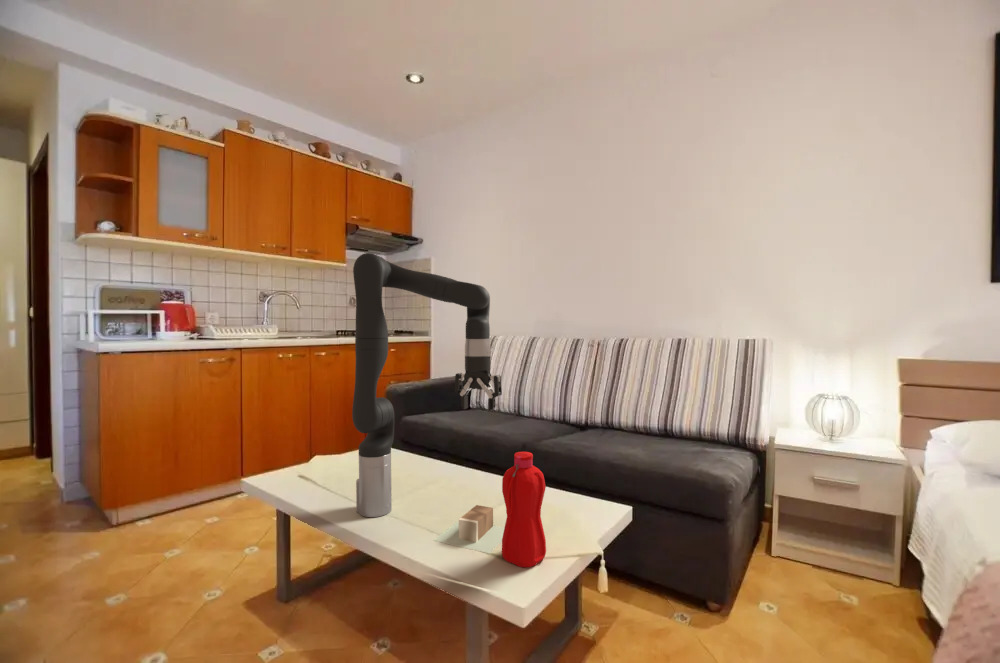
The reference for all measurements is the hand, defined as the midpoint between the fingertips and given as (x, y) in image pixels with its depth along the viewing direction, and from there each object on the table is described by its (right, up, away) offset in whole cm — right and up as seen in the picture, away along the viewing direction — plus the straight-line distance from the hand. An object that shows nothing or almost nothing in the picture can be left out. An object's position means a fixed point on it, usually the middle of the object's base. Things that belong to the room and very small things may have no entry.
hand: (478, 409), depth 133 cm
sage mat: (0, -30, -15) cm, 34 cm away
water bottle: (+11, -31, -26) cm, 42 cm away
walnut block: (+2, -27, -9) cm, 29 cm away
